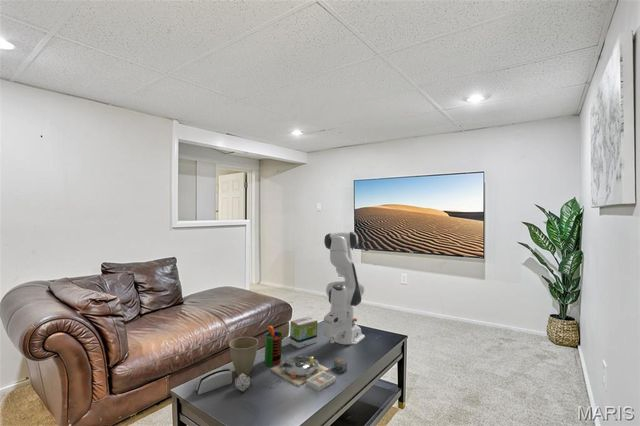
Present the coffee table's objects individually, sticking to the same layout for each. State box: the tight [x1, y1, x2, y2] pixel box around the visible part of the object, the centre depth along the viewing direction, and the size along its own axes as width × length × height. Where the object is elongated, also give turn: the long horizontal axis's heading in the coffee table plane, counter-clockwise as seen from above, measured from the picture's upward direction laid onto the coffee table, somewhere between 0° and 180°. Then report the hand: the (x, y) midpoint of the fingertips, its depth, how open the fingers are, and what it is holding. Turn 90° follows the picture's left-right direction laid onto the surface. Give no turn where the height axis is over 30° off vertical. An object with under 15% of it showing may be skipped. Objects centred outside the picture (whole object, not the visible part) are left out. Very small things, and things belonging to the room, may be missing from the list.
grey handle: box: [195, 367, 233, 395], centre depth 159 cm, size 17×5×10 cm, turn 130°
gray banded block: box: [333, 357, 348, 373], centre depth 179 cm, size 4×7×4 cm, turn 38°
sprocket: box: [280, 355, 319, 378], centre depth 176 cm, size 21×21×7 cm
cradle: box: [305, 371, 337, 392], centre depth 164 cm, size 12×8×2 cm
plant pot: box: [228, 336, 259, 376], centre depth 174 cm, size 15×15×16 cm
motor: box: [264, 325, 283, 367], centre depth 186 cm, size 10×9×20 cm
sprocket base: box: [270, 355, 330, 387], centre depth 176 cm, size 22×22×1 cm
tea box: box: [289, 316, 318, 349], centre depth 212 cm, size 15×10×15 cm, turn 131°
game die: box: [233, 371, 252, 394], centre depth 157 cm, size 9×8×10 cm
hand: (338, 340), depth 179 cm, fingers open, 8 cm apart
